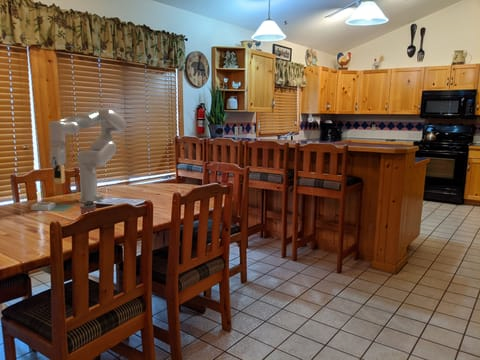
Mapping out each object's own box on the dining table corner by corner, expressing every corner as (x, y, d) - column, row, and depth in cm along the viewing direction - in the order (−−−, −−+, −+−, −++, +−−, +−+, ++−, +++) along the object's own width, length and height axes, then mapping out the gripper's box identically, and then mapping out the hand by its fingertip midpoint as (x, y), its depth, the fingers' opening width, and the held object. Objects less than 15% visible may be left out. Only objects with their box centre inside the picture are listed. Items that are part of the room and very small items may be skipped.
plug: (65, 182, 210) (64, 164, 208) (61, 183, 206) (60, 165, 204) (56, 182, 210) (55, 164, 208) (52, 183, 206) (51, 165, 204)
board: (74, 206, 216) (74, 200, 216) (63, 212, 203) (63, 206, 202) (43, 206, 216) (43, 200, 216) (30, 212, 202) (29, 205, 202)
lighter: (94, 217, 195) (93, 198, 194) (97, 218, 193) (97, 199, 191) (79, 220, 189) (78, 201, 187) (82, 221, 187) (82, 202, 185)
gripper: (58, 143, 212) (59, 175, 215) (43, 145, 196) (45, 179, 199) (71, 143, 213) (72, 175, 216) (57, 145, 196) (59, 179, 199)
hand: (59, 177), depth 207 cm, fingers closed on plug, 4 cm apart
